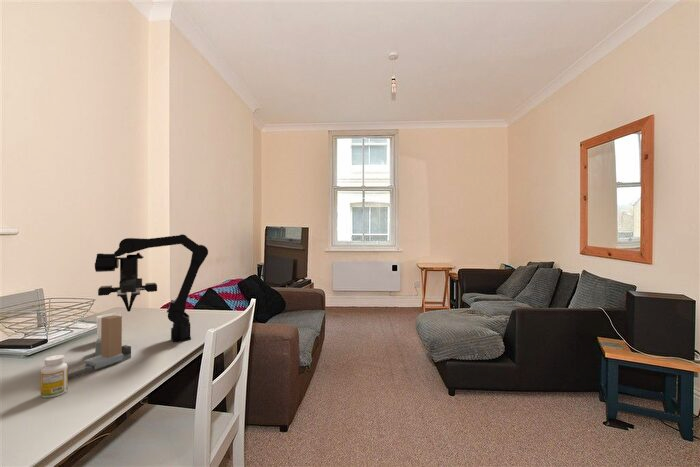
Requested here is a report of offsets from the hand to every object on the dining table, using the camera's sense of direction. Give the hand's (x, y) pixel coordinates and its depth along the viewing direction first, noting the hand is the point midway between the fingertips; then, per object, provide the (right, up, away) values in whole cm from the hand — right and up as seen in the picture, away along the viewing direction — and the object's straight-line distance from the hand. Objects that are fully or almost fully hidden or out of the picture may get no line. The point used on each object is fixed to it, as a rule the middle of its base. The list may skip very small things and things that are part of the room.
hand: (128, 311), depth 130 cm
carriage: (+5, -12, -20) cm, 24 cm away
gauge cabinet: (-2, -13, -8) cm, 16 cm away
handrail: (+4, -13, -23) cm, 27 cm away
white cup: (-12, -13, +6) cm, 19 cm away
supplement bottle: (+6, -13, -39) cm, 42 cm away
